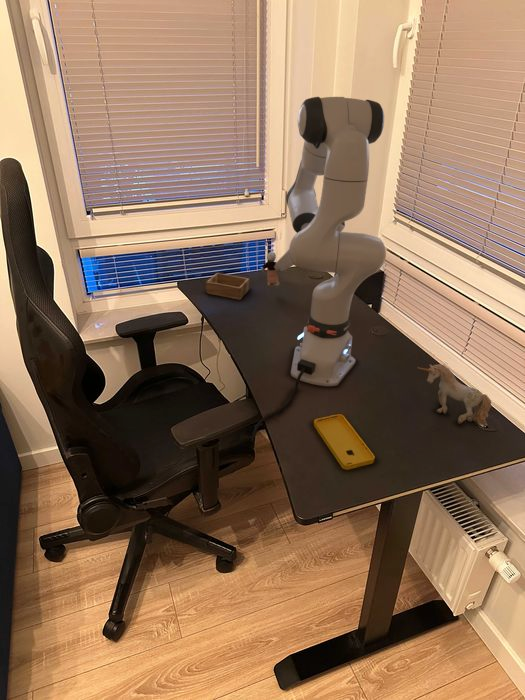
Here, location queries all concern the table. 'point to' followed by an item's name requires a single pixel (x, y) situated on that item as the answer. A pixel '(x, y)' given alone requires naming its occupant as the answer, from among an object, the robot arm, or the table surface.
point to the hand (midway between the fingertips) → (277, 266)
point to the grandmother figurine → (271, 270)
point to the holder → (227, 286)
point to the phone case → (343, 442)
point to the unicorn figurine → (459, 395)
